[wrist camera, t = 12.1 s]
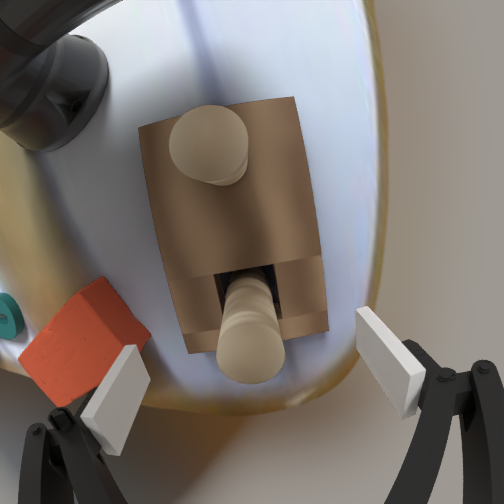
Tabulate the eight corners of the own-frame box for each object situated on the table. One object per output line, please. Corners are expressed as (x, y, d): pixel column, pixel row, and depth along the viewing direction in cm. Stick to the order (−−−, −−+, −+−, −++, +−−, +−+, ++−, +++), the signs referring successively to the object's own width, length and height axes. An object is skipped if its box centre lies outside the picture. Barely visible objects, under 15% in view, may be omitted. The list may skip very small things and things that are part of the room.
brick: (77, 386, 33) (60, 410, 27) (38, 340, 31) (16, 359, 25) (153, 334, 31) (136, 361, 25) (104, 273, 29) (77, 290, 23)
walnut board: (194, 335, 31) (166, 423, 17) (151, 135, 26) (81, 96, 12) (319, 314, 30) (364, 393, 17) (287, 108, 26) (321, 43, 12)
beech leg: (232, 305, 30) (223, 389, 16) (224, 268, 29) (207, 332, 15) (271, 298, 30) (290, 379, 16) (265, 261, 29) (281, 320, 15)
